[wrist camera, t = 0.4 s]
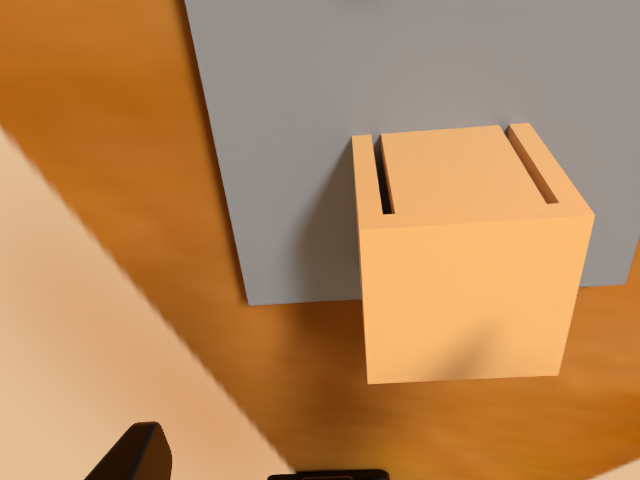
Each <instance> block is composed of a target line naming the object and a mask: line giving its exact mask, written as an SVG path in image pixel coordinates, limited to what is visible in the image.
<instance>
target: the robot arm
mask: <svg viewBox="0 0 640 480" xmlns="http://www.w3.org/2000/svg"><path fill="white" fill-rule="evenodd" d="M171 469H172V454H171V450H170V447H169V445H168V442H167V440H166V437H165V435H164V432H163V430H162V427H161V425H160V424H159V423H157V422H139V423H135V424H133V425H132V426H131V427H130V428H129V429H128V430H127V431H126V432H125V433H124V434H123V436H122V437H121V438H120V439H119V440H118V441H117V442H116V444H115V445H114V446H113V447H112V448H111V449H110V451H109V452H108V453H107V454H106V455H105V456H104V457H103V458H102V460H101V461H100V462H99V463H98V464H97V465H96V467H95V468H94V469H93V470H92V471H91V472H90V473H89V475H88V476H87V477H86V478H85V479H84V480H170V477H171ZM267 480H390V476H389V474H388V473H387V472H385V471H360V472H333V473H307V474H280V475H271V476H269V477H268V478H267Z"/></svg>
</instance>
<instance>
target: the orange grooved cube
mask: <svg viewBox="0 0 640 480" xmlns="http://www.w3.org/2000/svg"><path fill="white" fill-rule="evenodd" d="M352 147H353V164H354V182H355V199H356V216H357V233H358V251H359V268H360V283H361V297H362V311H363V325H364V339H365V353H366V367H367V381H368V384H381V383H402V382H423V381H445V380H466V379H487V378H508V377H530V376H551V375H558V374H559V370H560V366H561V361H562V357H563V353H564V348H565V344H566V340H567V335H568V331H569V327H570V322H571V318H572V314H573V309H574V305H575V301H576V296H577V292H578V288H579V283H580V279H581V275H582V270H583V266H584V262H585V257H586V253H587V249H588V244H589V240H590V236H591V231H592V227H593V223H594V218H595V214H594V213H593V211H592V210H591V209H590V207H589V206H588V204H587V203H586V202H585V200H584V199H583V197H582V196H581V195H580V193H579V192H578V190H577V189H576V188H575V186H574V185H573V183H572V182H571V181H570V179H569V178H568V176H567V175H566V174H565V172H564V171H563V169H562V168H561V167H560V165H559V164H558V162H557V161H556V160H555V158H554V157H553V155H552V154H551V153H550V151H549V150H548V148H547V147H546V146H545V144H544V143H543V141H542V140H541V139H540V137H539V136H538V134H537V133H536V132H535V130H534V129H533V127H532V126H531V125H530V123H521V124H509V131H508V139H507V137H506V135H505V134H504V132H503V130H502V129H501V127H500V126H499V125H494V126H480V127H467V128H453V129H440V130H426V131H412V132H399V133H385V134H381V152H382V158H383V164H384V170H385V175H386V181H387V187H388V193H389V199H390V205H391V211H392V214H385V215H383V212H382V205H381V199H380V192H379V185H378V178H377V171H376V164H375V157H374V150H373V143H372V136H371V135H358V136H352Z"/></svg>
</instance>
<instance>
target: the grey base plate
mask: <svg viewBox="0 0 640 480" xmlns="http://www.w3.org/2000/svg"><path fill="white" fill-rule="evenodd" d="M185 5H186V10H187V15H188V19H189V24H190V29H191V34H192V38H193V43H194V48H195V53H196V57H197V62H198V67H199V72H200V76H201V81H202V86H203V90H204V95H205V100H206V105H207V109H208V114H209V119H210V124H211V128H212V133H213V138H214V143H215V147H216V152H217V157H218V162H219V166H220V171H221V176H222V181H223V185H224V190H225V195H226V200H227V204H228V209H229V214H230V219H231V223H232V228H233V233H234V238H235V242H236V247H237V252H238V257H239V261H240V266H241V271H242V276H243V280H244V285H245V290H246V294H247V299H248V304H249V305H267V304H285V303H303V302H321V301H338V300H356V299H362V297H361V283H360V268H359V251H358V233H357V216H356V199H355V182H354V164H353V147H352V136H358V135H371V136H372V143H373V150H374V157H375V164H376V171H377V178H378V185H379V192H380V199H381V205H382V212H383V215H385V214H392V211H391V205H390V199H389V193H388V187H387V181H386V175H385V170H384V164H383V158H382V152H381V134H385V133H399V132H412V131H426V130H440V129H453V128H467V127H480V126H494V125H499V126H500V127H501V129H502V130H503V132H504V134H505V135H506V137H507V139H508V131H509V124H521V123H530V125H531V126H532V127H533V129H534V130H535V132H536V133H537V134H538V136H539V137H540V139H541V140H542V141H543V143H544V144H545V146H546V147H547V148H548V150H549V151H550V153H551V154H552V155H553V157H554V158H555V160H556V161H557V162H558V164H559V165H560V167H561V168H562V169H563V171H564V172H565V174H566V175H567V176H568V178H569V179H570V181H571V182H572V183H573V185H574V186H575V188H576V189H577V190H578V192H579V193H580V195H581V196H582V197H583V199H584V200H585V202H586V203H587V204H588V206H589V207H590V209H591V210H592V211H593V213H594V214H595V218H594V223H593V227H592V231H591V236H590V240H589V244H588V249H587V253H586V257H585V262H584V266H583V270H582V275H581V279H580V283H579V287H588V286H606V285H624V284H626V280H627V277H628V273H629V270H630V267H631V263H632V260H633V256H634V253H635V249H636V246H637V243H638V239H639V236H640V0H185Z"/></svg>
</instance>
